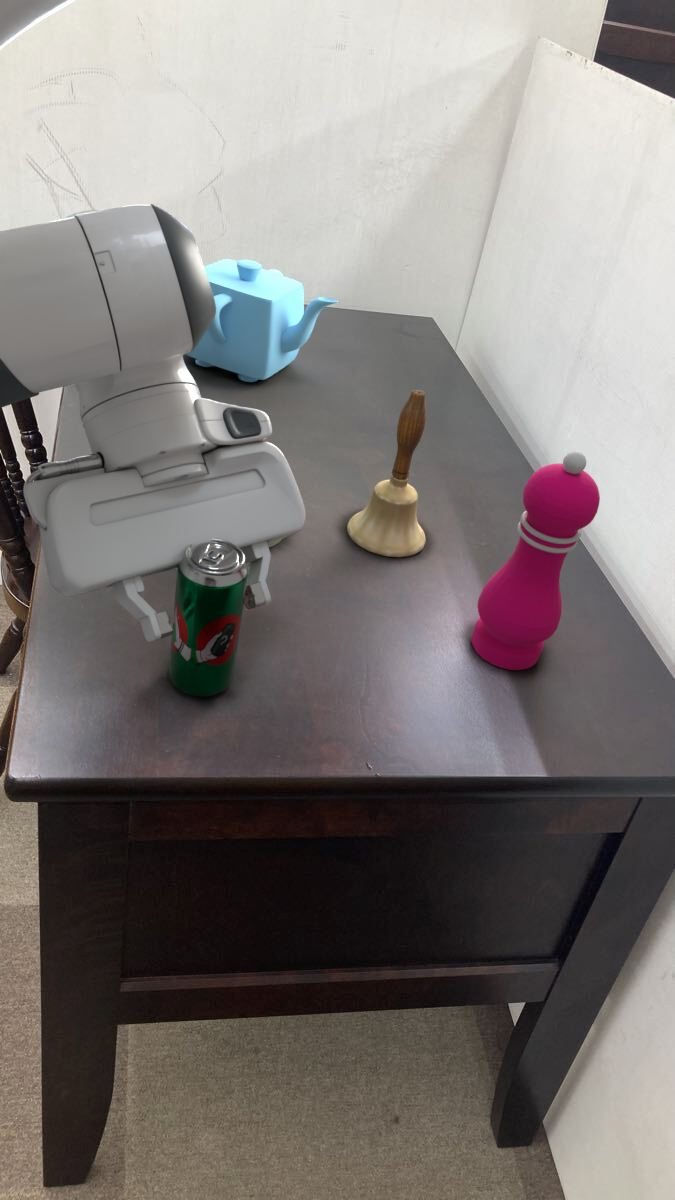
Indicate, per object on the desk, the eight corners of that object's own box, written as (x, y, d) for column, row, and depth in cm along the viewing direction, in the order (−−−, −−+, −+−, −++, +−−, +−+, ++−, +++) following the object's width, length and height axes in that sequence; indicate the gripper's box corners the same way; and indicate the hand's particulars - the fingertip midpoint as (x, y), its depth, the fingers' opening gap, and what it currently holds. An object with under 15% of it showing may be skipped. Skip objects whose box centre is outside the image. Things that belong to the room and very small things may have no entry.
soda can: (242, 670, 72) (261, 549, 65) (215, 709, 68) (232, 584, 61) (186, 649, 73) (198, 527, 66) (156, 686, 69) (166, 560, 62)
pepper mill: (550, 680, 78) (634, 483, 66) (470, 668, 78) (541, 467, 66) (536, 628, 84) (612, 439, 72) (461, 617, 83) (526, 424, 72)
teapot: (184, 387, 112) (193, 280, 104) (166, 334, 124) (173, 235, 116) (322, 393, 118) (341, 292, 110) (292, 343, 130) (307, 249, 122)
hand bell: (356, 556, 88) (390, 409, 79) (339, 511, 95) (369, 370, 85) (434, 559, 91) (476, 416, 81) (413, 514, 97) (450, 377, 87)
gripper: (27, 454, 57) (95, 659, 57) (285, 410, 69) (340, 580, 69) (3, 481, 62) (65, 669, 63) (246, 435, 74) (298, 593, 74)
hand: (211, 622), depth 66 cm, fingers open, 7 cm apart
